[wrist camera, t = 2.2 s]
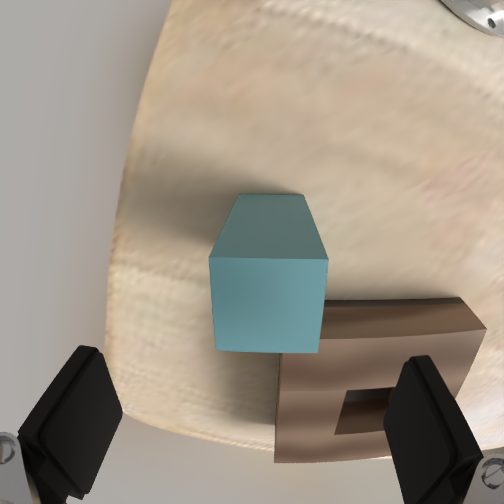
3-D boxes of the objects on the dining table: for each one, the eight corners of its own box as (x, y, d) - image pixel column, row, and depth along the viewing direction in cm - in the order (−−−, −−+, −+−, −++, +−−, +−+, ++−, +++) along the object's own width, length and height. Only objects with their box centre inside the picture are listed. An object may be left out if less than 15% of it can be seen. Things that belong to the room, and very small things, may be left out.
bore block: (282, 299, 25) (283, 339, 20) (460, 297, 24) (486, 329, 19) (275, 425, 31) (274, 462, 26) (413, 416, 30) (424, 449, 25)
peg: (239, 194, 22) (208, 257, 12) (303, 194, 22) (328, 259, 12) (240, 253, 24) (215, 350, 14) (300, 254, 24) (317, 353, 13)
